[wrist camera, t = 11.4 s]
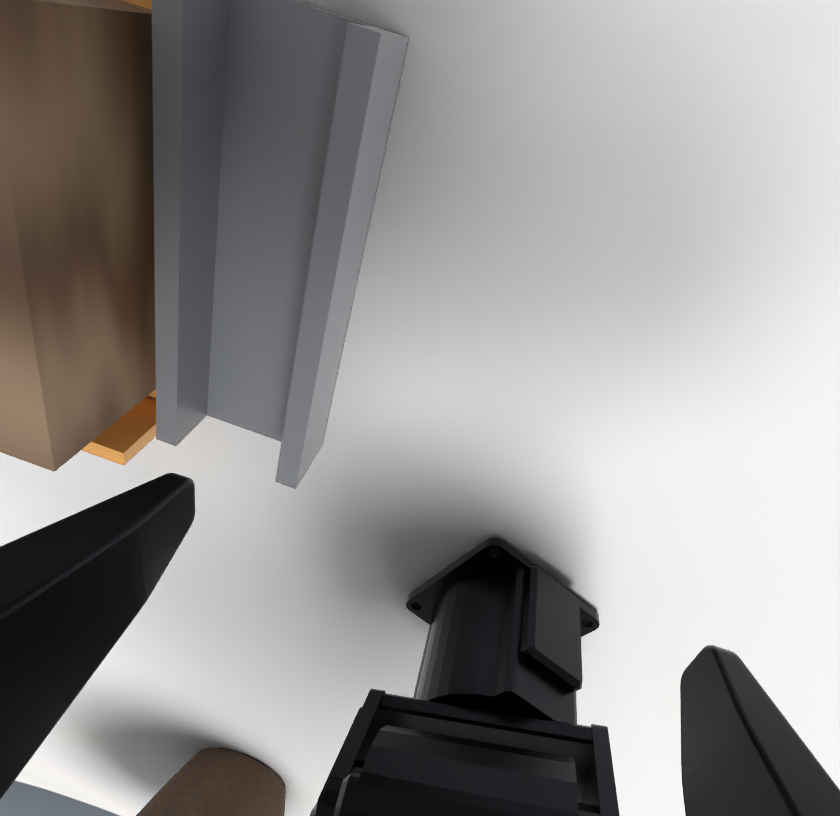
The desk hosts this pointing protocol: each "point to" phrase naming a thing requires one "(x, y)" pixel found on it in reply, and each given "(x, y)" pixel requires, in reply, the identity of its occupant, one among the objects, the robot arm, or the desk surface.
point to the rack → (258, 215)
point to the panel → (74, 222)
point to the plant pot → (220, 788)
